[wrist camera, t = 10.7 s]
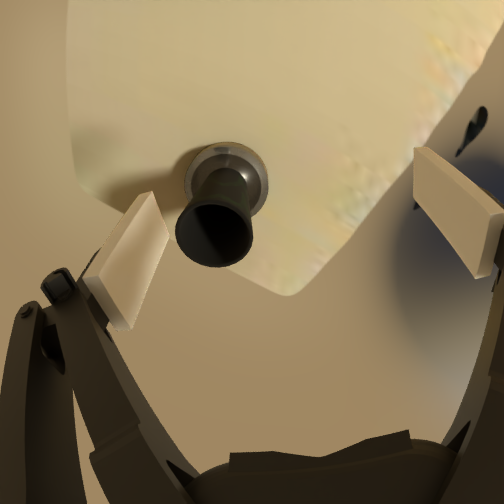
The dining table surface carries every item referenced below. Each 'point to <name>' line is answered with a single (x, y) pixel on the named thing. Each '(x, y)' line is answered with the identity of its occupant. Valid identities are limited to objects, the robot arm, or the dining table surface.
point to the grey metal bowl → (235, 159)
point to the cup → (217, 221)
